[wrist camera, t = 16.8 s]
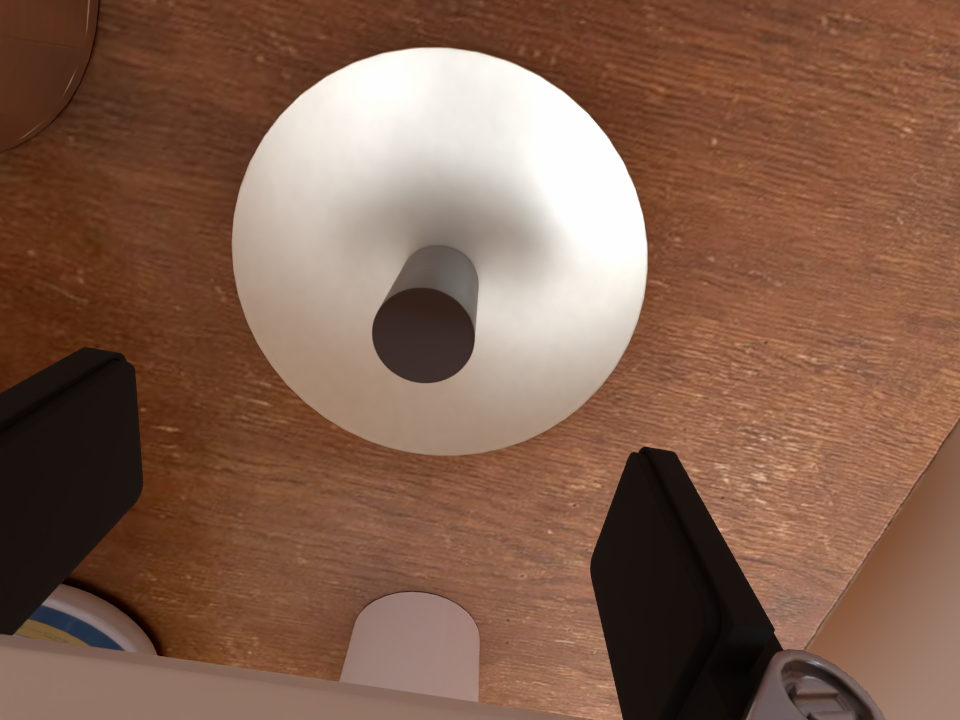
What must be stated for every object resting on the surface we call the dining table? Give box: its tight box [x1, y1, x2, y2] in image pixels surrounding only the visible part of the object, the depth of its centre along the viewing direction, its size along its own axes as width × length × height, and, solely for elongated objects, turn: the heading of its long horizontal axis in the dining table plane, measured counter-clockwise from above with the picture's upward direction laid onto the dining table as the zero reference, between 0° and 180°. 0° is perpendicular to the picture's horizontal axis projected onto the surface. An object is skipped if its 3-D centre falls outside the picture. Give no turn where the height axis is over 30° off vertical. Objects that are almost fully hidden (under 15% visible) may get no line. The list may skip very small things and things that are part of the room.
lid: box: [231, 47, 648, 456], centre depth 19 cm, size 16×16×7 cm
